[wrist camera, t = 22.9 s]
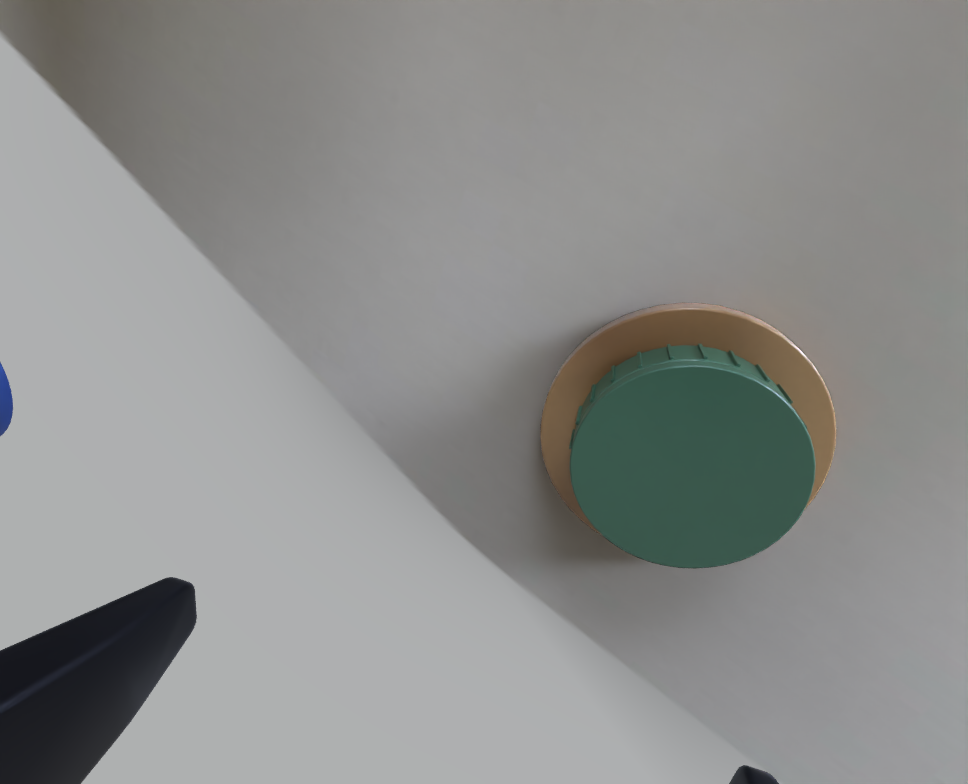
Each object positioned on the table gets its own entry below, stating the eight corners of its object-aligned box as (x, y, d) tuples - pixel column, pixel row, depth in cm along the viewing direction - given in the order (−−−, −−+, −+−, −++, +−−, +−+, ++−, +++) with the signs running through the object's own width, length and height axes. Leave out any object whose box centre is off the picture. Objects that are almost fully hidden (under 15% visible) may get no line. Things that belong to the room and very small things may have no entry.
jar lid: (685, 295, 15) (693, 311, 14) (848, 448, 16) (877, 482, 14) (532, 439, 18) (522, 468, 17) (673, 564, 19) (678, 605, 17)
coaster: (669, 585, 20) (671, 600, 19) (492, 429, 19) (488, 439, 19) (896, 439, 16) (908, 451, 15) (684, 239, 16) (687, 242, 15)
